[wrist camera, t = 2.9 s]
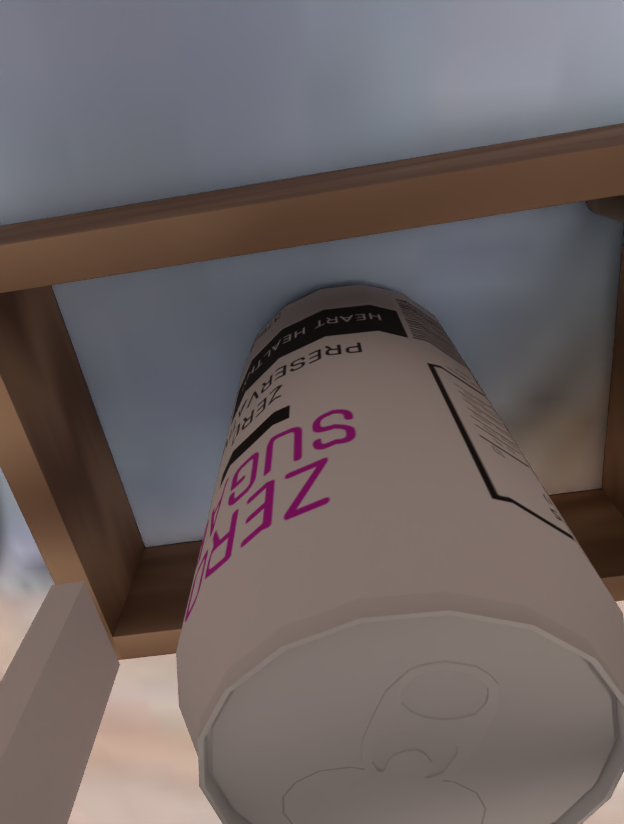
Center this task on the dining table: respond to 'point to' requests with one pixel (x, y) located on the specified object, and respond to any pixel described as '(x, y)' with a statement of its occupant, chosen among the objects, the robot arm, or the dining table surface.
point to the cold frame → (225, 237)
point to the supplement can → (391, 595)
